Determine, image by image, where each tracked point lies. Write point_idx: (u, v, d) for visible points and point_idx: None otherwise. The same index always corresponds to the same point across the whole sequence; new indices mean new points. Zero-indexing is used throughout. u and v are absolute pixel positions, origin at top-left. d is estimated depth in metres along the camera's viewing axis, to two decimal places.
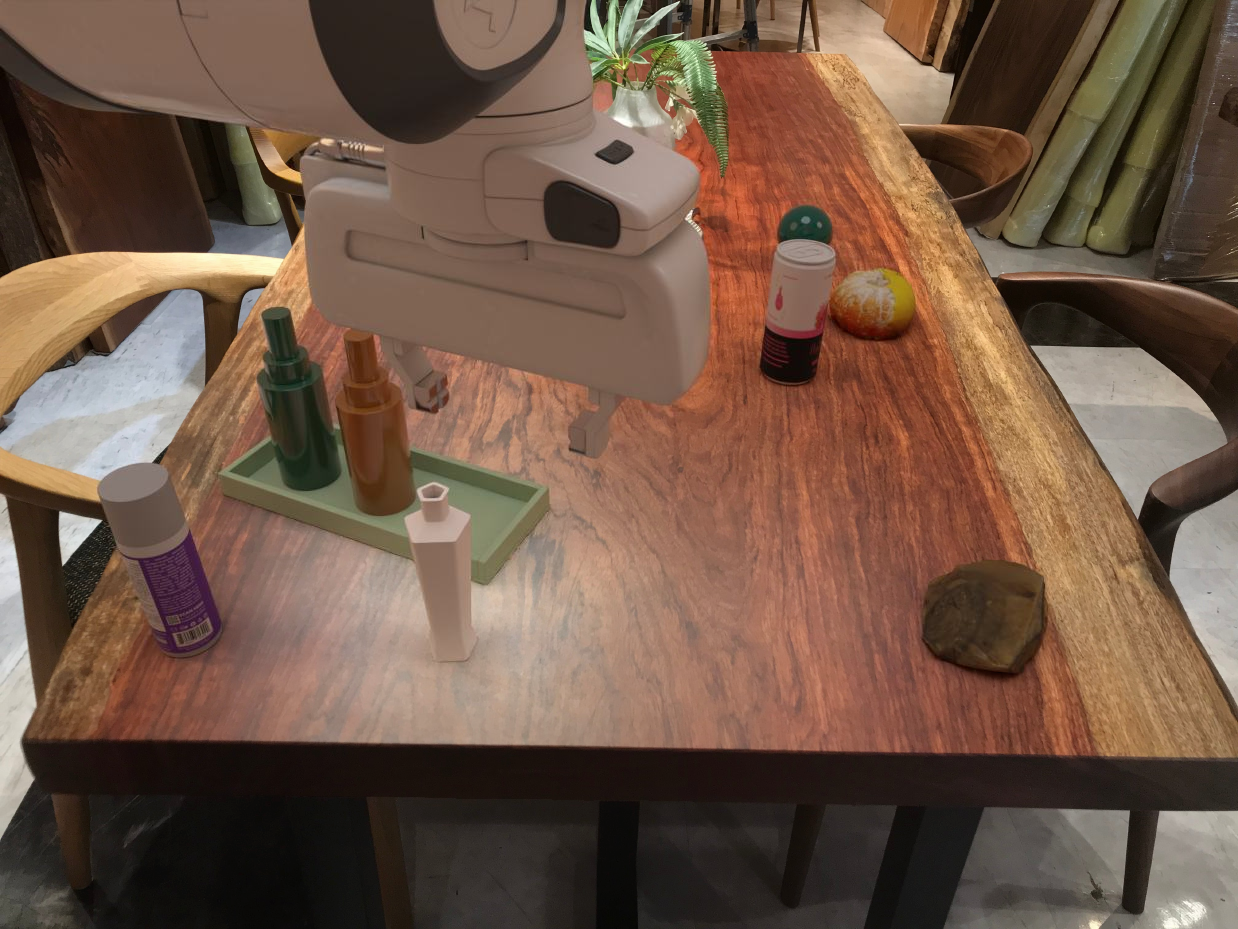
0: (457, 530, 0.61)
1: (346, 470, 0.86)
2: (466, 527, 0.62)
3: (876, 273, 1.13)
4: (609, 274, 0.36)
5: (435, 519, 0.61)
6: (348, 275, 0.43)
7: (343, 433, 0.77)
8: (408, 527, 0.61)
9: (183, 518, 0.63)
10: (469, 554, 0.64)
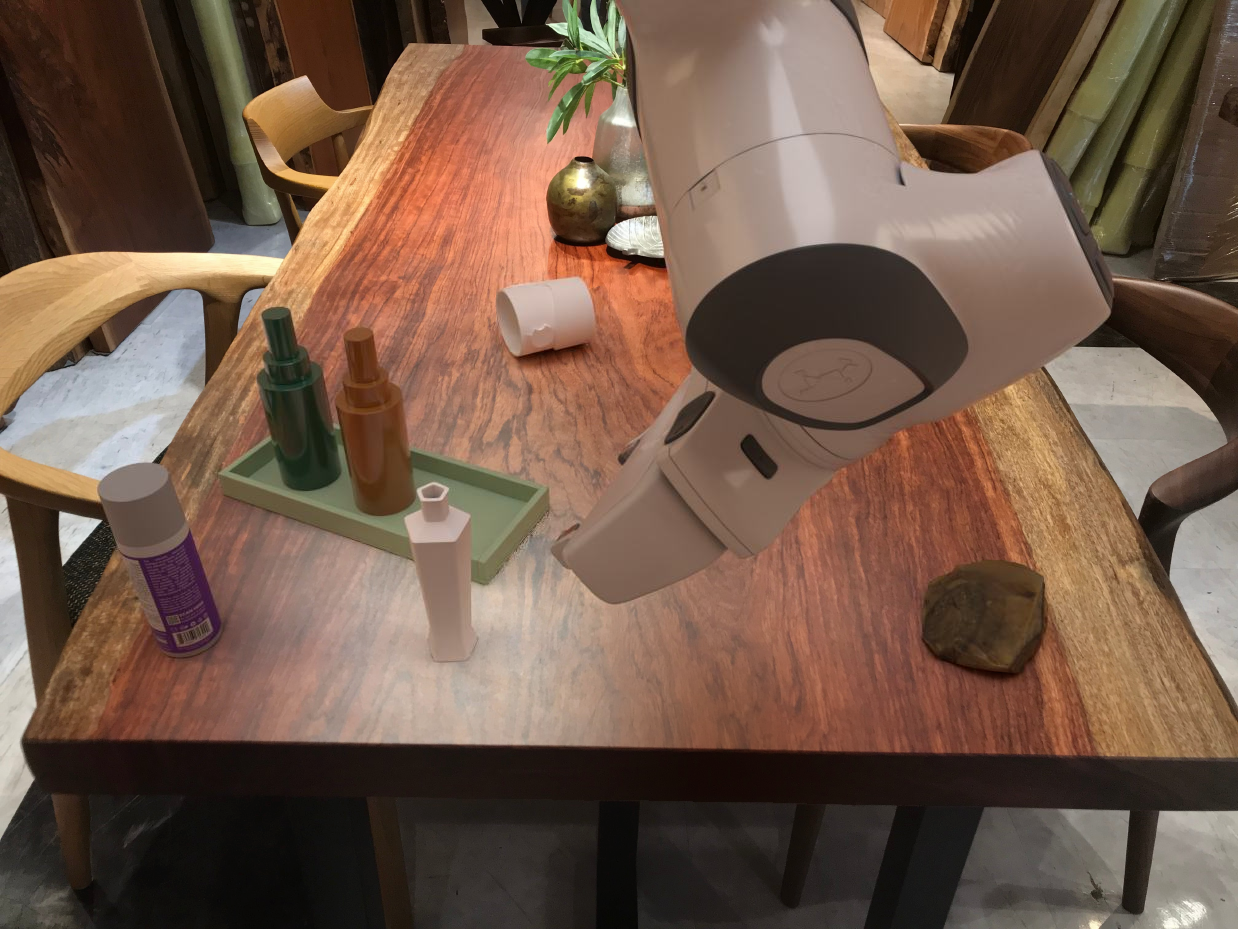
0: (457, 530, 0.61)
1: (346, 470, 0.86)
2: (466, 527, 0.62)
3: None
4: None
5: (435, 519, 0.61)
6: None
7: (343, 433, 0.77)
8: (408, 527, 0.61)
9: (183, 518, 0.63)
10: (469, 554, 0.64)
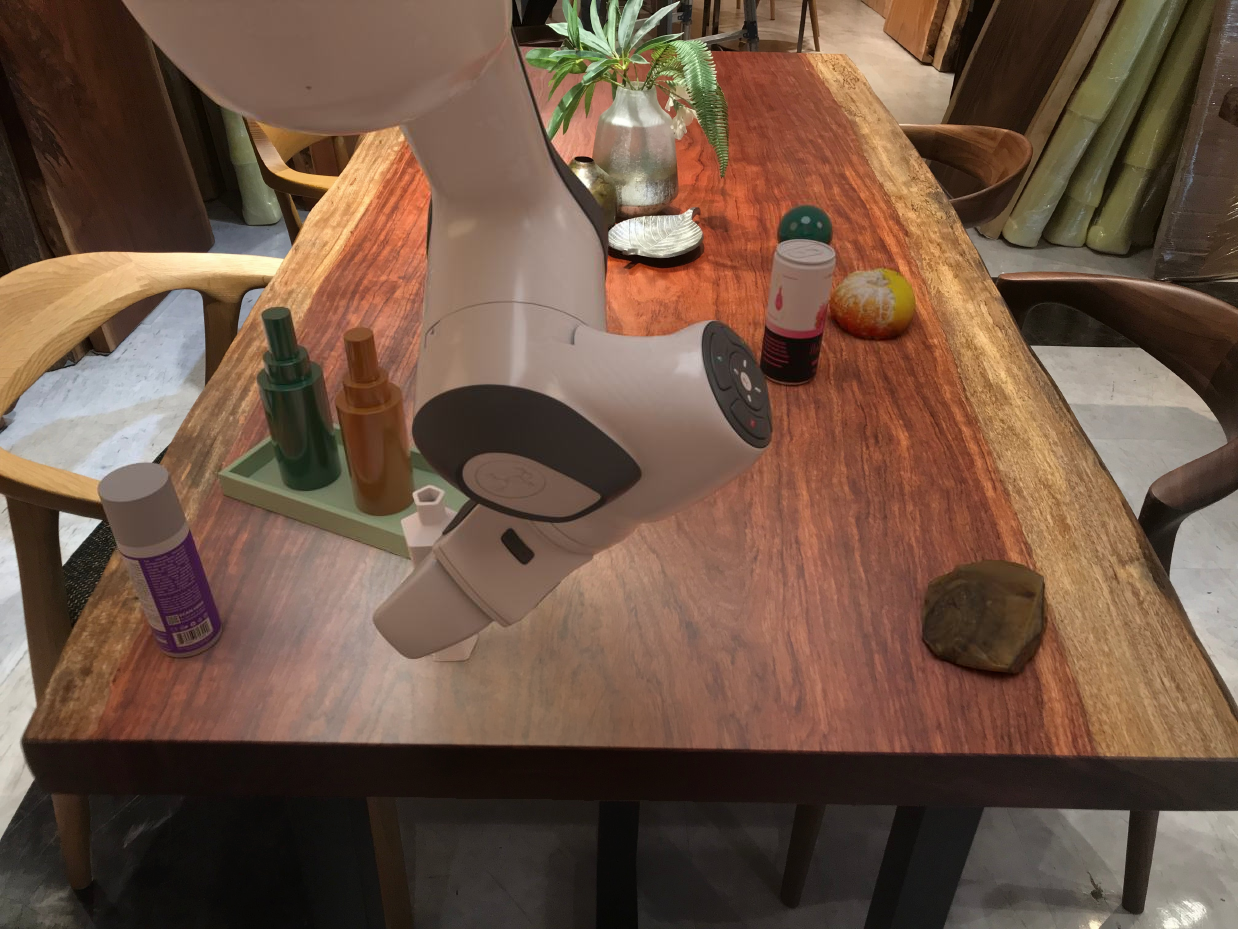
0: None
1: (346, 470, 0.86)
2: None
3: (876, 273, 1.13)
4: None
5: (431, 523, 0.60)
6: None
7: (343, 433, 0.77)
8: (405, 530, 0.61)
9: (183, 518, 0.63)
10: None
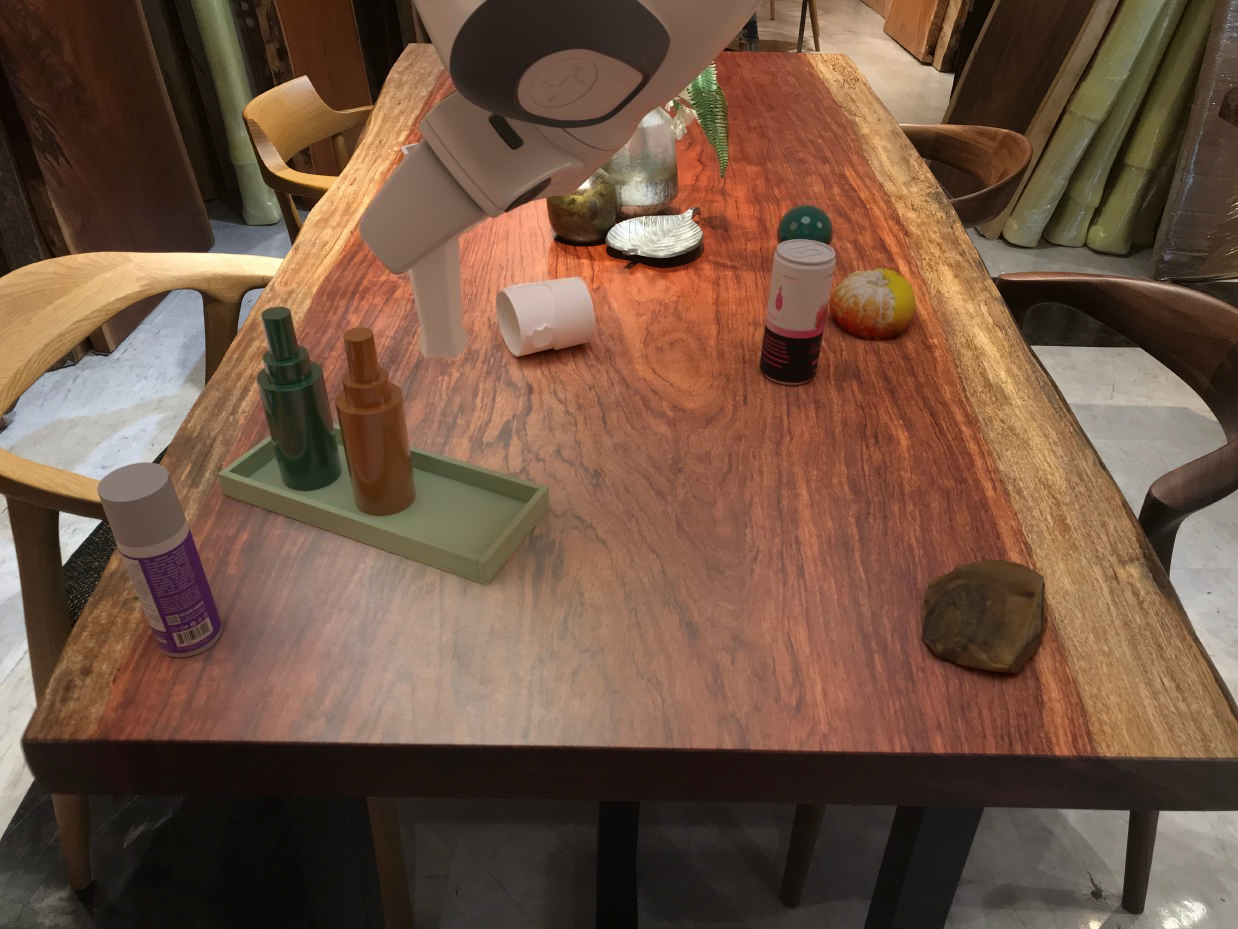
0: None
1: (346, 470, 0.86)
2: None
3: (876, 273, 1.13)
4: None
5: None
6: None
7: (343, 433, 0.77)
8: None
9: (183, 518, 0.63)
10: None
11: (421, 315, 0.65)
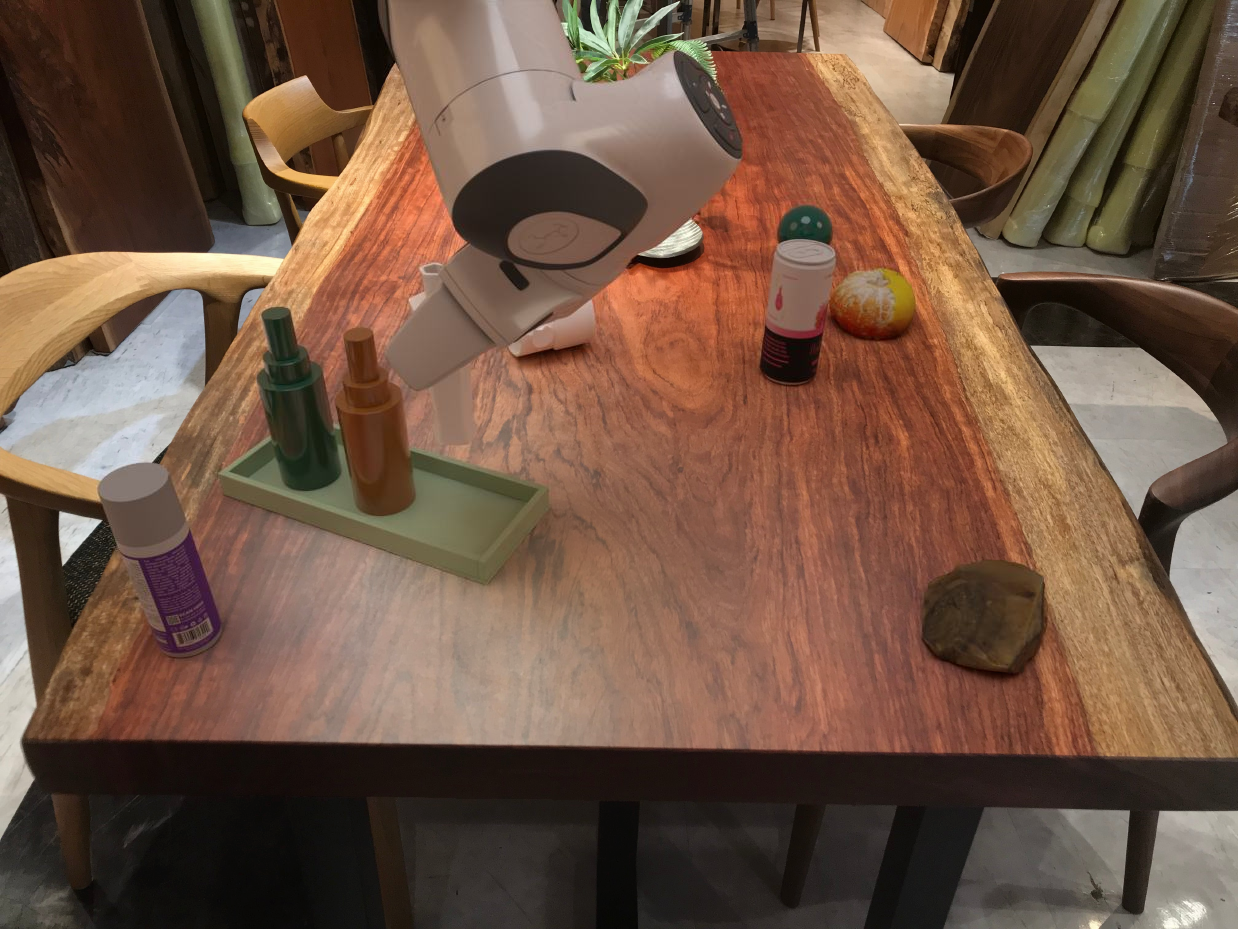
0: None
1: (346, 470, 0.86)
2: None
3: (876, 273, 1.13)
4: None
5: None
6: None
7: (343, 433, 0.77)
8: (412, 305, 0.67)
9: (183, 518, 0.63)
10: None
11: (436, 409, 0.72)
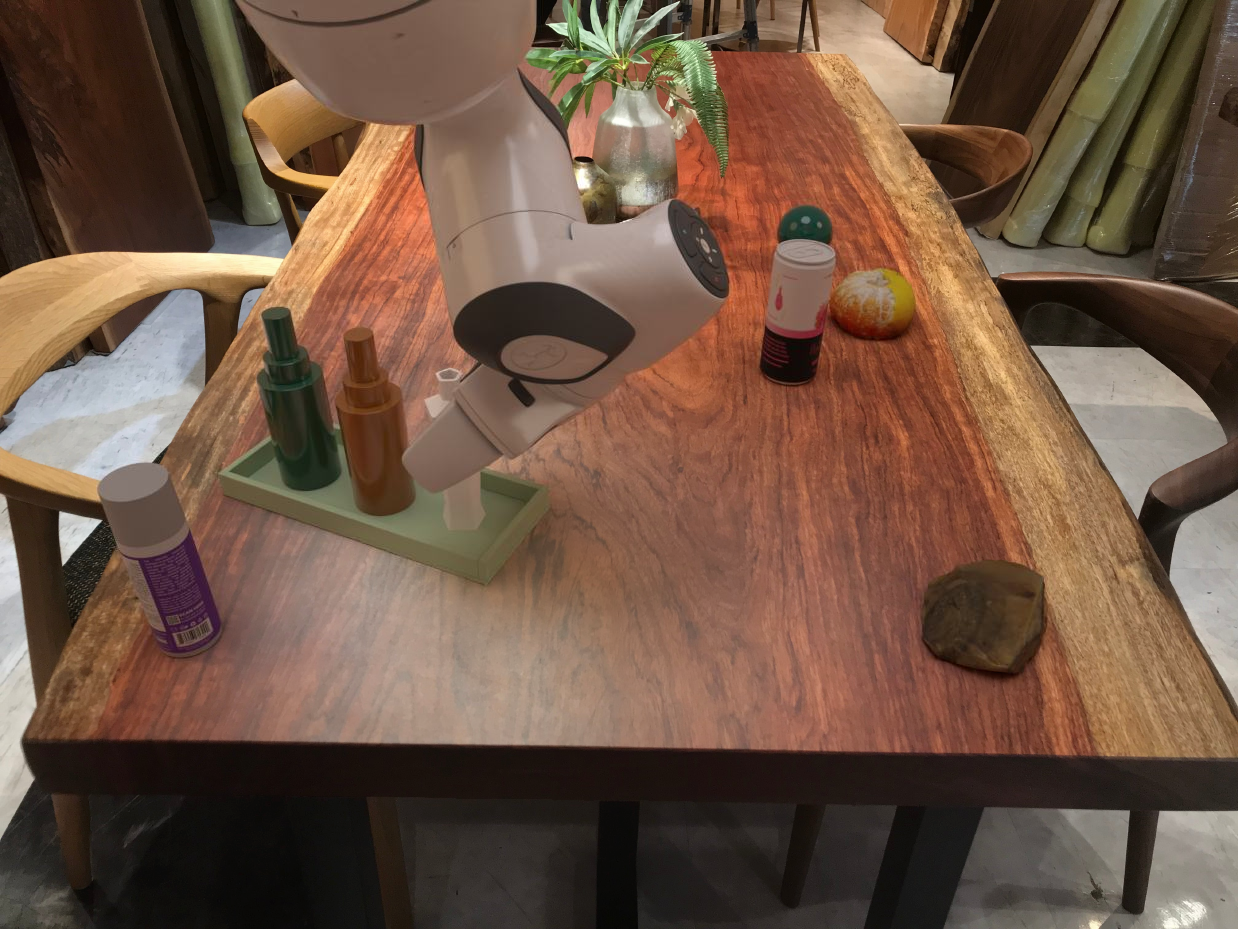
0: None
1: (346, 470, 0.86)
2: None
3: (876, 273, 1.13)
4: None
5: (451, 398, 0.72)
6: None
7: (343, 433, 0.77)
8: (428, 406, 0.73)
9: (183, 518, 0.63)
10: None
11: (447, 498, 0.78)
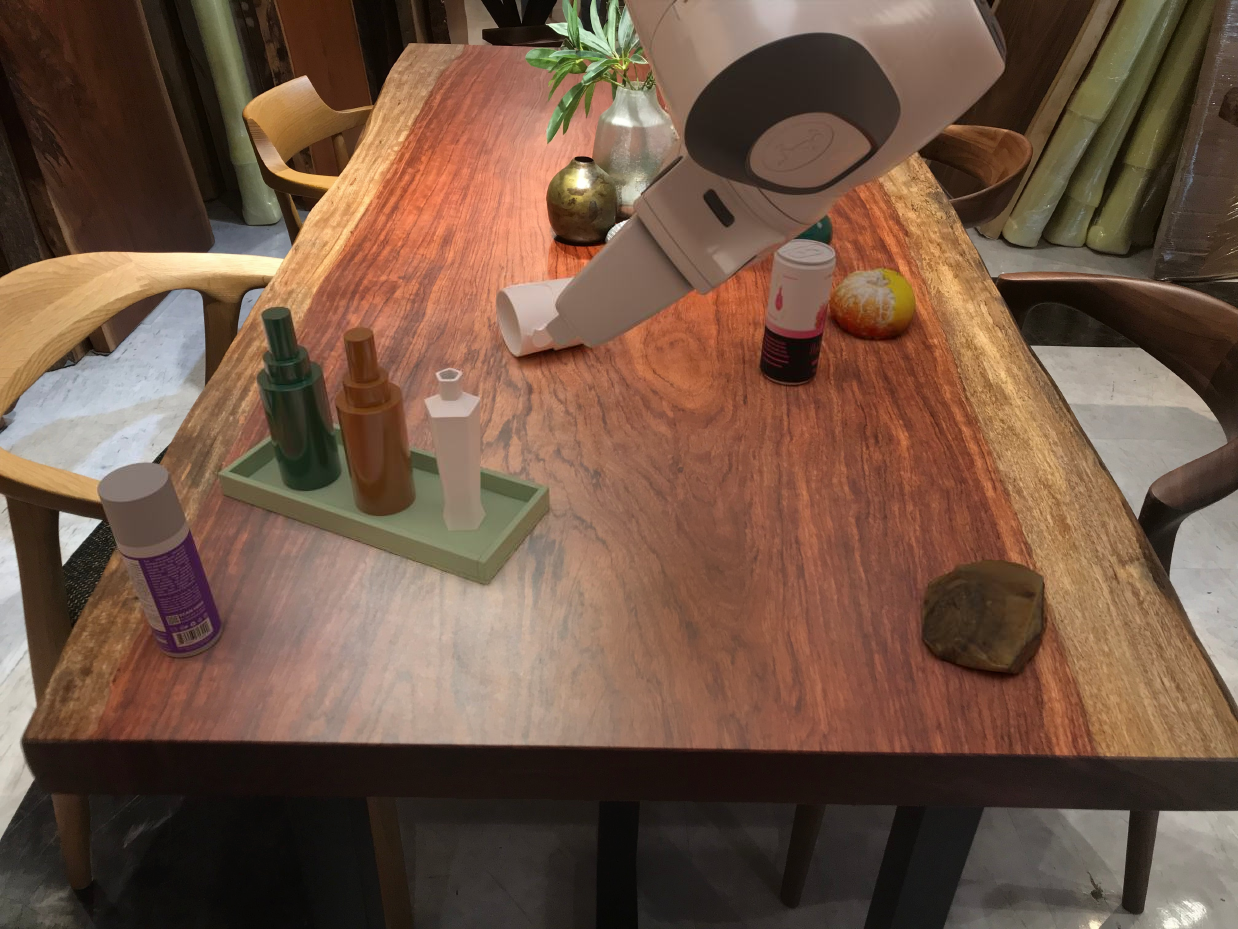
0: (469, 408, 0.73)
1: (346, 470, 0.86)
2: (477, 407, 0.74)
3: (876, 273, 1.13)
4: None
5: (451, 398, 0.72)
6: None
7: (343, 433, 0.77)
8: (428, 406, 0.73)
9: (183, 518, 0.63)
10: (479, 433, 0.76)
11: (447, 498, 0.78)
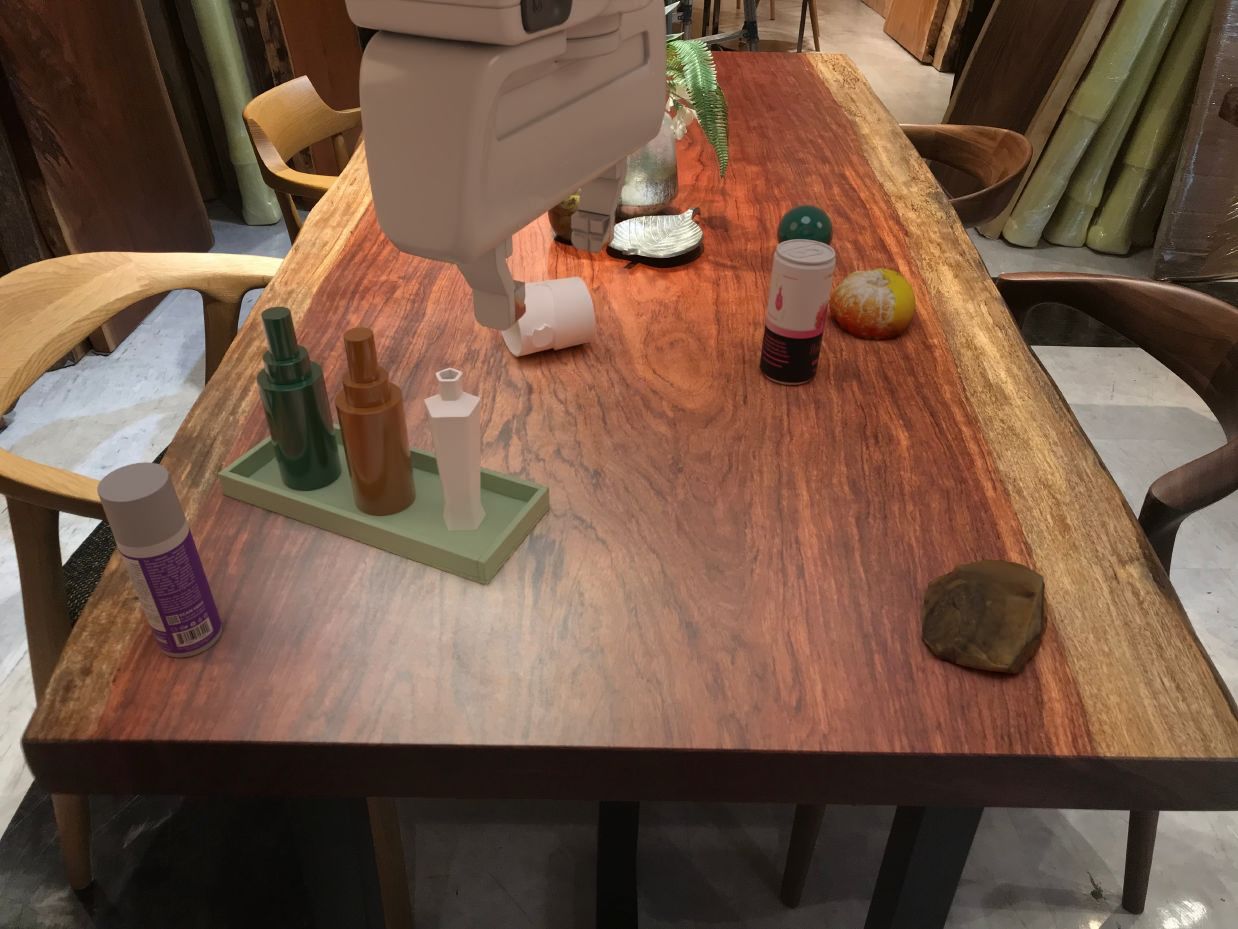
0: (469, 408, 0.73)
1: (346, 470, 0.86)
2: (477, 407, 0.74)
3: (876, 273, 1.13)
4: None
5: (451, 398, 0.72)
6: None
7: (343, 433, 0.77)
8: (428, 406, 0.73)
9: (183, 518, 0.63)
10: (479, 433, 0.76)
11: (447, 498, 0.78)
